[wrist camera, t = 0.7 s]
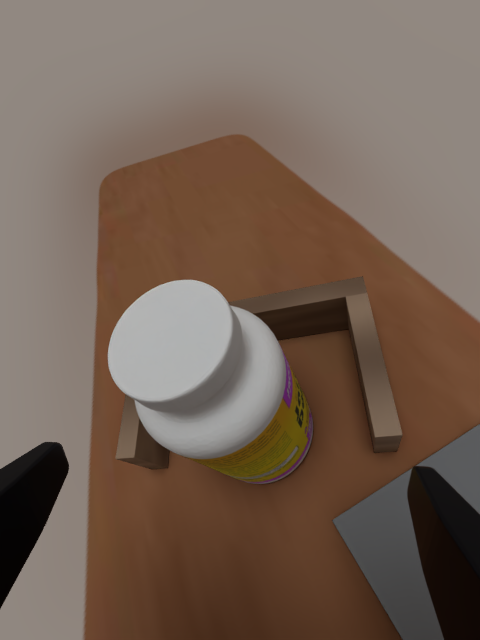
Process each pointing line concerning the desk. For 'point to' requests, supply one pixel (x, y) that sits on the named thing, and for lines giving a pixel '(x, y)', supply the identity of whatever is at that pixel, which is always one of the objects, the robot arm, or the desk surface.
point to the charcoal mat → (407, 538)
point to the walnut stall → (289, 322)
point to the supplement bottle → (211, 382)
